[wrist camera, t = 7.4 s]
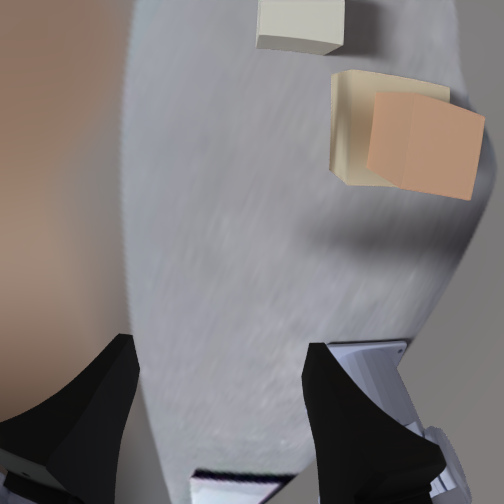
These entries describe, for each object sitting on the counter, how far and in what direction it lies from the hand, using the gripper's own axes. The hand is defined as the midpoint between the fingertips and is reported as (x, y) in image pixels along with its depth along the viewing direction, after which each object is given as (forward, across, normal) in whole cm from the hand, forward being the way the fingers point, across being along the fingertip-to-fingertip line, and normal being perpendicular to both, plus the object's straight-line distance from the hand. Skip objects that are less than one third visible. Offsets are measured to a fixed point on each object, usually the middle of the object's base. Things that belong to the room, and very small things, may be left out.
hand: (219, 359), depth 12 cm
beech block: (+10, -9, -9) cm, 16 cm away
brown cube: (+6, -9, -9) cm, 14 cm away
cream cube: (+10, -3, -15) cm, 18 cm away
